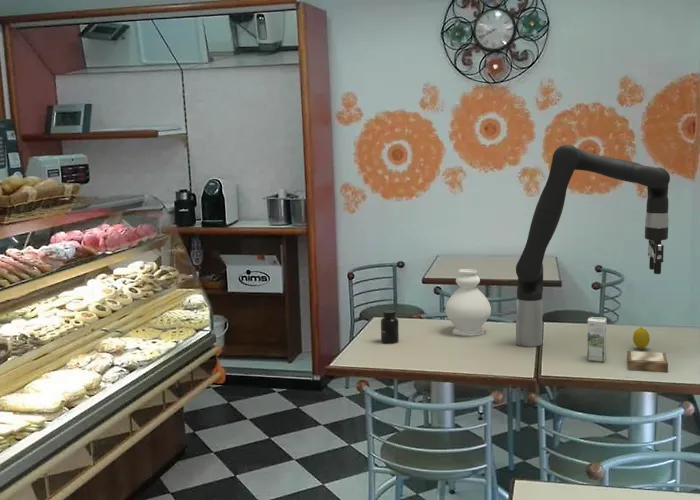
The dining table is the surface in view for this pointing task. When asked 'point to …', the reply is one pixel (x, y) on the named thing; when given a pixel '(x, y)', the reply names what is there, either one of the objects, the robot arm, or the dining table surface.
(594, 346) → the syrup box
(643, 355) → the plinth
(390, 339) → the supplement bottle
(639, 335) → the lemon
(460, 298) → the decorative vase
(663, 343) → the dining table surface
